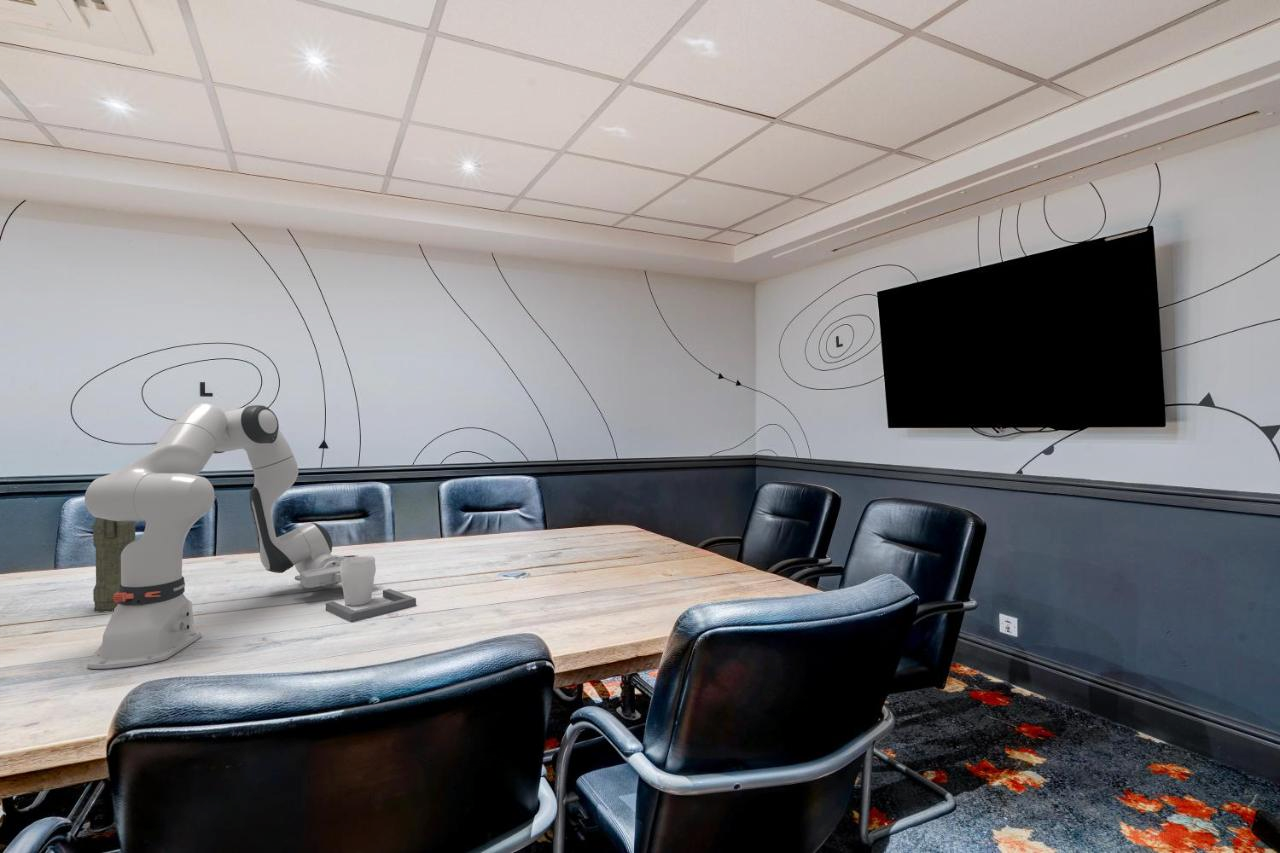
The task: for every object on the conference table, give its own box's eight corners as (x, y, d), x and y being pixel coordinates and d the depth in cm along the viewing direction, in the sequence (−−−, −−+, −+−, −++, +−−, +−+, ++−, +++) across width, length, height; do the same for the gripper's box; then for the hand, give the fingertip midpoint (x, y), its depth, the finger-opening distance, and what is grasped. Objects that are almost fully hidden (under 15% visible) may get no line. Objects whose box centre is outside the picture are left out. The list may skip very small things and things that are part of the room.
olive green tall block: (91, 615, 161) (90, 481, 161) (95, 604, 171) (94, 478, 170) (135, 609, 167) (134, 479, 166) (136, 599, 176) (135, 476, 175)
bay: (325, 610, 166) (325, 602, 166) (389, 595, 180) (389, 588, 180) (350, 622, 157) (350, 614, 157) (416, 605, 171) (416, 598, 171)
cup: (365, 607, 169) (365, 563, 169) (333, 606, 169) (333, 563, 169) (381, 597, 178) (381, 556, 178) (350, 597, 178) (350, 555, 178)
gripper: (291, 566, 177) (312, 574, 168) (362, 554, 193) (384, 560, 184) (292, 588, 177) (312, 597, 168) (362, 574, 193) (384, 582, 184)
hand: (351, 578), depth 176 cm, fingers closed, pressing on cup
